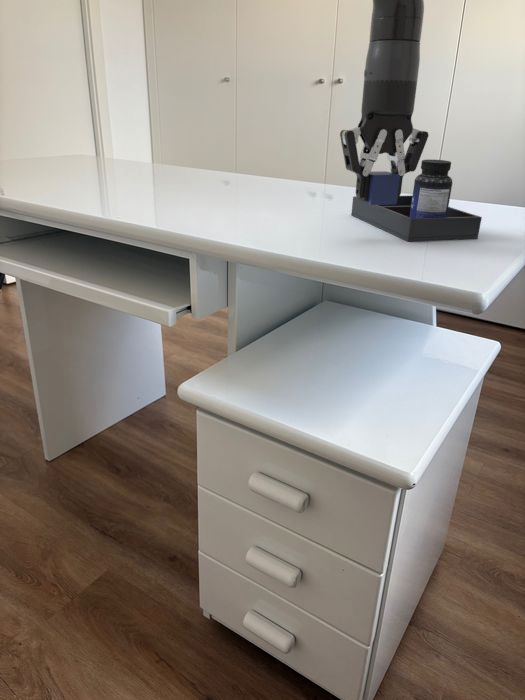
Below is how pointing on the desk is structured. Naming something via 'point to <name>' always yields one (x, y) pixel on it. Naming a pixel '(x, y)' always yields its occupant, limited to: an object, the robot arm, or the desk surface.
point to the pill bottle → (432, 190)
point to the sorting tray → (417, 221)
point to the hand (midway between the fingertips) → (377, 200)
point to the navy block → (383, 188)
